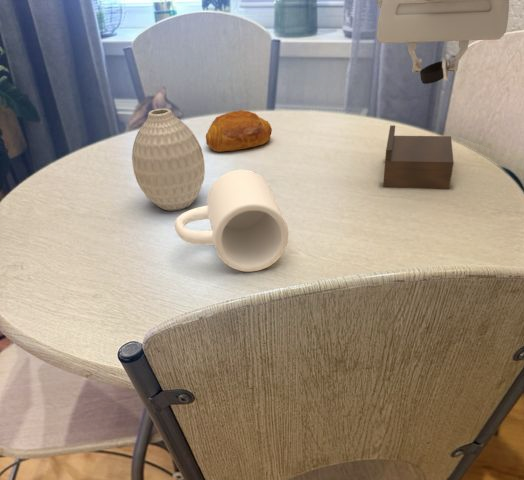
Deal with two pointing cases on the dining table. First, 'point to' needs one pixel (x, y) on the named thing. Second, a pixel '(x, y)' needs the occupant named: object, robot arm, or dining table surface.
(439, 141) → the brown wooden box
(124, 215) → the dining table surface
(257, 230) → the mug
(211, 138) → the croissant
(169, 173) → the vase
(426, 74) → the watch
